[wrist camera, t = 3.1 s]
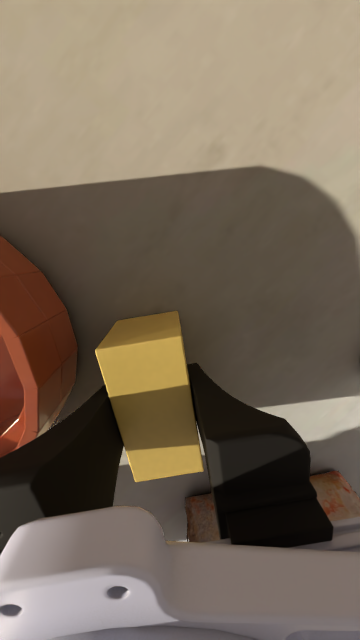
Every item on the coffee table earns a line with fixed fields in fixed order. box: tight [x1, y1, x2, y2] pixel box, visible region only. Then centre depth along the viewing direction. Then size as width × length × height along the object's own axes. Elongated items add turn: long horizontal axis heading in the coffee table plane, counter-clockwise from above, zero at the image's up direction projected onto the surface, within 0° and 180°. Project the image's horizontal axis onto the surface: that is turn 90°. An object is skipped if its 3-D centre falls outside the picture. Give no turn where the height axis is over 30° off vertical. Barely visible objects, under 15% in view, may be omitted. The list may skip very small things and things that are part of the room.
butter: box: [95, 311, 204, 482], centre depth 12 cm, size 8×4×4 cm, turn 9°
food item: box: [185, 471, 360, 543], centre depth 13 cm, size 14×8×10 cm, turn 99°
